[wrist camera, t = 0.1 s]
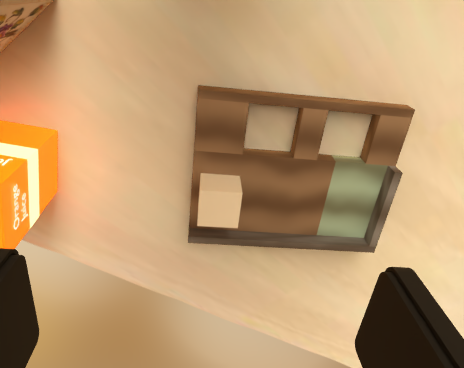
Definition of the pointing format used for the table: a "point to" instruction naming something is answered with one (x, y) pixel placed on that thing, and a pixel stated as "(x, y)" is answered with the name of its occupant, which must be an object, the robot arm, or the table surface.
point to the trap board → (298, 173)
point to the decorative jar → (17, 17)
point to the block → (219, 200)
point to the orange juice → (25, 177)
